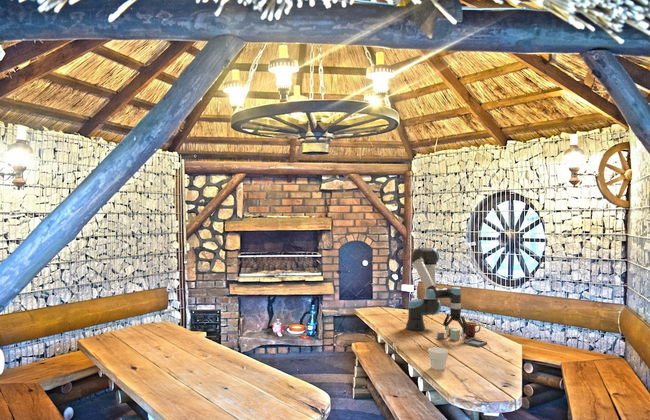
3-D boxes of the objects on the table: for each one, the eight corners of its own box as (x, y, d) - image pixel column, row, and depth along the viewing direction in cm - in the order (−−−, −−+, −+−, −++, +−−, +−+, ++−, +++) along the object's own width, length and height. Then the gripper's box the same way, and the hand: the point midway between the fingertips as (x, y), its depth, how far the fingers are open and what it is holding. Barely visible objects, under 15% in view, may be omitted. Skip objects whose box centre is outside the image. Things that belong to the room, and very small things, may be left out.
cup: (425, 369, 319) (426, 351, 319) (430, 363, 330) (430, 346, 330) (446, 372, 314) (446, 354, 314) (450, 366, 325) (450, 348, 325)
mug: (465, 337, 393) (465, 324, 393) (463, 334, 402) (463, 321, 401) (481, 338, 392) (481, 325, 392) (479, 335, 400) (479, 322, 400)
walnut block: (448, 335, 400) (448, 328, 400) (450, 333, 405) (450, 327, 405) (455, 336, 398) (455, 329, 398) (456, 334, 402) (456, 328, 402)
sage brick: (450, 339, 389) (450, 329, 389) (453, 337, 393) (454, 328, 393) (456, 340, 386) (456, 331, 386) (459, 339, 389) (459, 329, 389)
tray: (463, 343, 377) (463, 341, 377) (472, 340, 385) (472, 338, 385) (478, 347, 369) (478, 344, 368) (487, 344, 377) (487, 341, 377)
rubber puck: (435, 338, 390) (436, 333, 390) (439, 337, 394) (439, 332, 394) (441, 339, 387) (441, 334, 387) (445, 338, 390) (445, 333, 390)
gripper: (438, 306, 395) (438, 334, 396) (467, 311, 377) (467, 340, 377) (444, 305, 400) (443, 332, 401) (473, 310, 382) (472, 338, 383)
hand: (455, 336), depth 389 cm, fingers open, 13 cm apart
